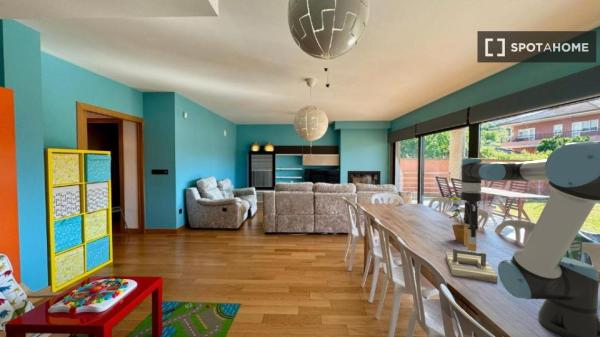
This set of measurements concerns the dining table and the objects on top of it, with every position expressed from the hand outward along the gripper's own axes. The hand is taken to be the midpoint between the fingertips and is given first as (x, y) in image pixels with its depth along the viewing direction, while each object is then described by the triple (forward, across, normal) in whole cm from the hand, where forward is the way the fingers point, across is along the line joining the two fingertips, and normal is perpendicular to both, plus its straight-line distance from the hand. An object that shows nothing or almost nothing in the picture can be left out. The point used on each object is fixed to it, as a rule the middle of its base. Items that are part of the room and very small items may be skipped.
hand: (470, 240), depth 115 cm
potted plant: (+20, +71, -8) cm, 74 cm away
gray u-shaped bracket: (+20, +18, -3) cm, 27 cm away
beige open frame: (+20, +18, -3) cm, 27 cm away
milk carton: (+20, +16, -38) cm, 46 cm away
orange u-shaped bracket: (+3, 0, 0) cm, 3 cm away
